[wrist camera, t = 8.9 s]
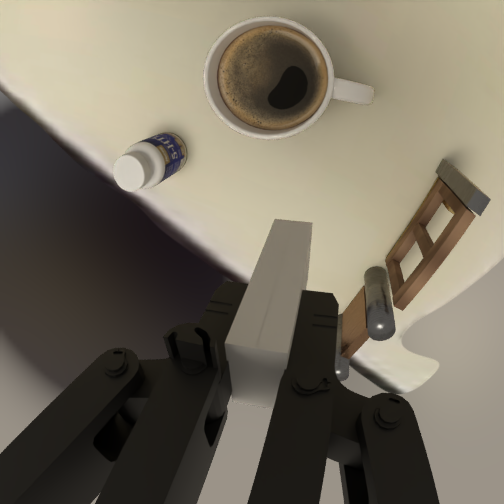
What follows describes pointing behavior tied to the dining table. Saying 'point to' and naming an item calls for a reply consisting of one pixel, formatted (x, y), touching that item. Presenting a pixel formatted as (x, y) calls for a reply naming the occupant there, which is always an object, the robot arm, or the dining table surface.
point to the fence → (366, 316)
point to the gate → (426, 244)
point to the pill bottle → (150, 162)
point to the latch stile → (462, 188)
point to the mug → (273, 78)
